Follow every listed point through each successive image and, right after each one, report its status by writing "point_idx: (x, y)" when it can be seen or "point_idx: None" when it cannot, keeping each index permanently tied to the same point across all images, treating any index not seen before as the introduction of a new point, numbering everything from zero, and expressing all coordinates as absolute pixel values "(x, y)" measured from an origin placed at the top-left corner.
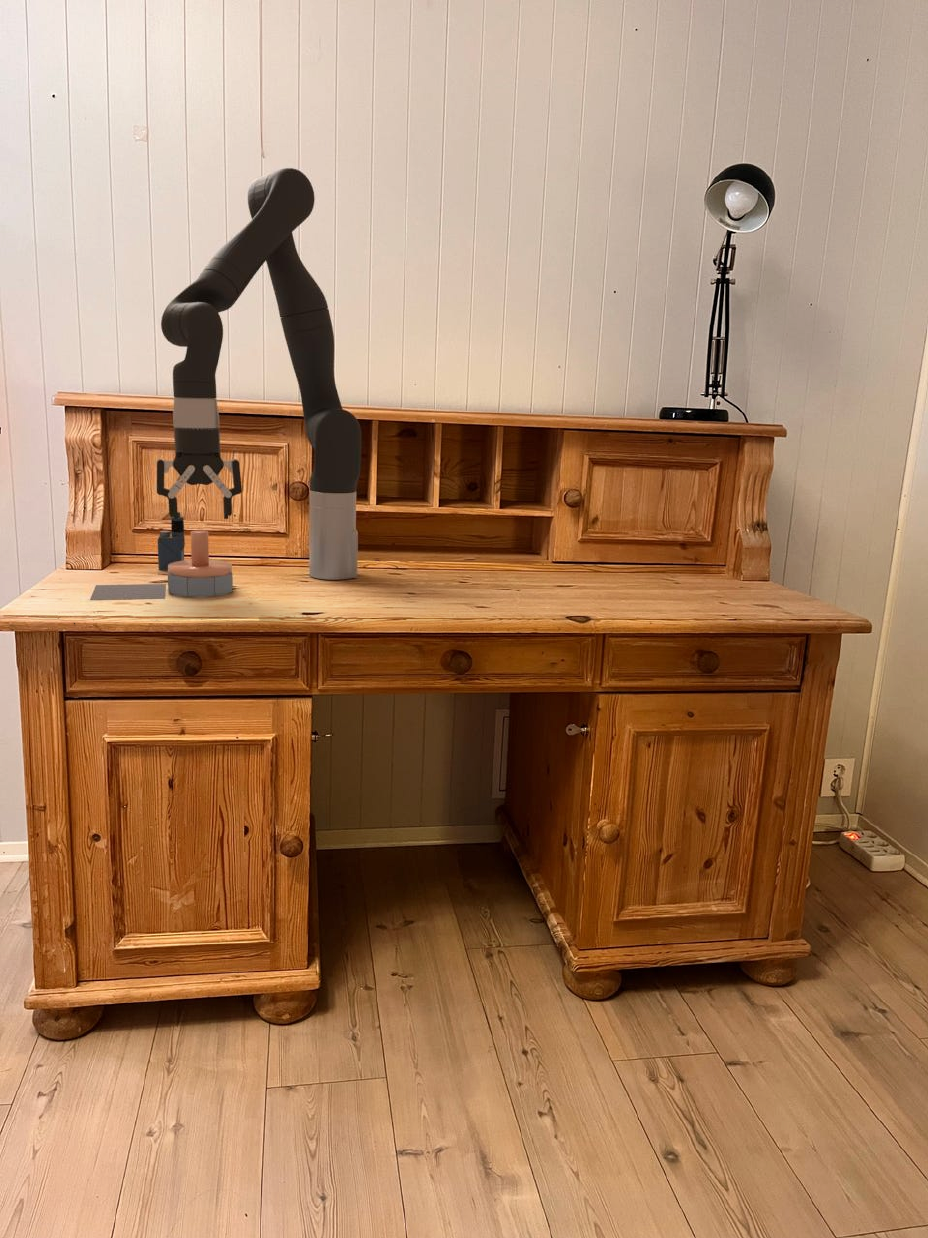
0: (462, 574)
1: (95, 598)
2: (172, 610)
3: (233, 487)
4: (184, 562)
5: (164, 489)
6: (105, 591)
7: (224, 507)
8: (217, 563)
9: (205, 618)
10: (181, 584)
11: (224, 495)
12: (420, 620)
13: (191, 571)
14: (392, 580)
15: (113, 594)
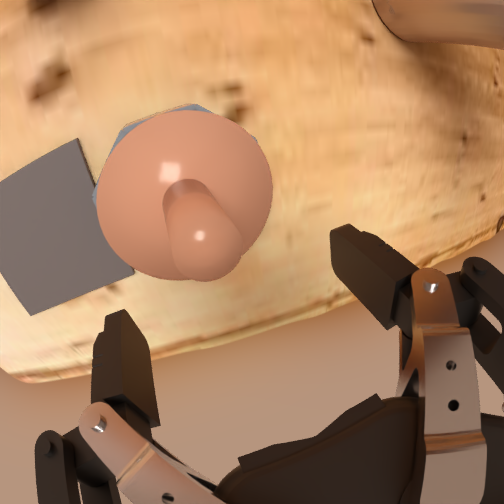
0: None
1: (29, 305)
2: (172, 315)
3: (469, 303)
4: (129, 177)
5: (107, 476)
6: (8, 253)
7: (362, 301)
8: (229, 164)
9: (235, 335)
10: None
11: (401, 329)
12: (438, 261)
13: (188, 278)
14: (458, 56)
15: (33, 271)
